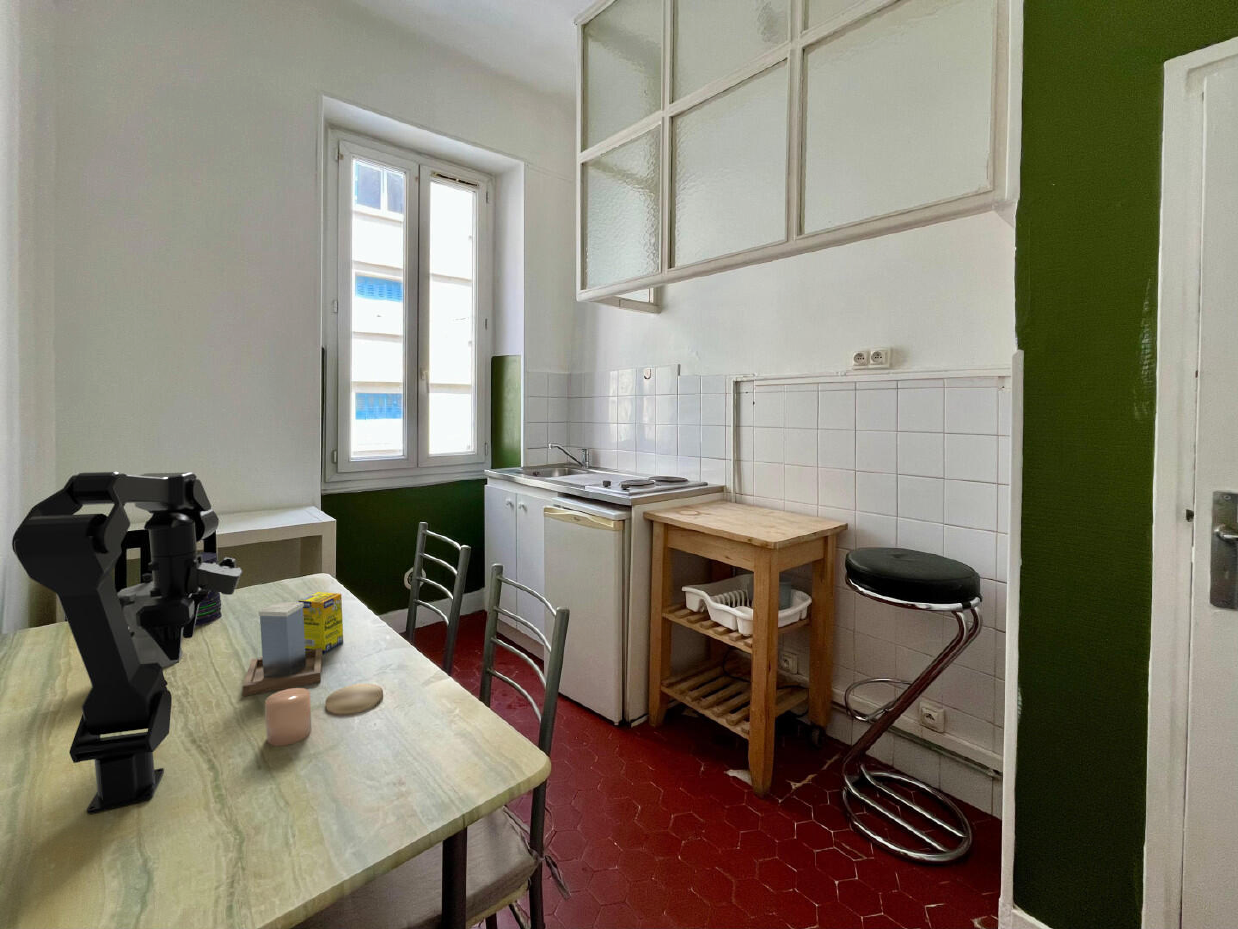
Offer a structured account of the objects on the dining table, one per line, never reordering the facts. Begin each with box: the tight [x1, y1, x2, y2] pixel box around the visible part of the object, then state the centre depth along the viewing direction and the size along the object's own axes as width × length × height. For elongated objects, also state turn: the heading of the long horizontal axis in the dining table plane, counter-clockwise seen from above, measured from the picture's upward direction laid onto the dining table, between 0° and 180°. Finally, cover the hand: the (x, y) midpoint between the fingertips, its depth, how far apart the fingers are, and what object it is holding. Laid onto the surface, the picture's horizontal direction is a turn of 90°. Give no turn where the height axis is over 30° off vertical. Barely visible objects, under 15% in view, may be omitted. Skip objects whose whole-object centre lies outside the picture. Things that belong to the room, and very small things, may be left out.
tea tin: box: [258, 601, 306, 678], centre depth 108 cm, size 5×5×13 cm
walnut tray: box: [242, 648, 323, 697], centre depth 108 cm, size 12×12×2 cm
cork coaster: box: [325, 683, 384, 716], centre depth 99 cm, size 9×9×1 cm
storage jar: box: [195, 552, 223, 627], centre depth 135 cm, size 10×10×15 cm
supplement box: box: [297, 591, 344, 655], centre depth 120 cm, size 6×6×11 cm
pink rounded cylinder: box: [264, 687, 312, 747], centre depth 89 cm, size 6×6×6 cm
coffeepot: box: [117, 572, 184, 669], centre depth 111 cm, size 15×9×18 cm, turn 6°
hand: (182, 648), depth 92 cm, fingers open, 9 cm apart
